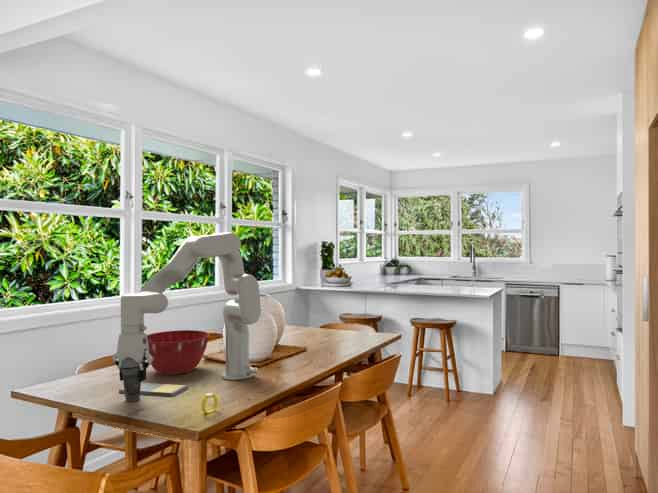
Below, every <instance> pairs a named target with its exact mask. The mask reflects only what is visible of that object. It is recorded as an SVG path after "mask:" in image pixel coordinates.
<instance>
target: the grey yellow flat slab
mask: <svg viewBox="0 0 658 493" xmlns="http://www.w3.org/2000/svg"><path fill="white" fill-rule="evenodd" d="M185 390H188V385H185V384H169V383H167V384H166V383H153V382H152V383H147V382H141V389H140V395H144V396H146V395H147V396H161V397H174V396H176V395H178V394H181V393H182V392H184V391H185ZM118 394H125V391H124V387H122V388H120V389H119V388H118Z"/></svg>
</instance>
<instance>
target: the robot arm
mask: <svg viewBox="0 0 658 493" xmlns="http://www.w3.org/2000/svg"><path fill="white" fill-rule="evenodd" d="M241 246H242V243H241V238H240V236H238V234H237V233H235V232H214V233H211V234H207V235H192V236H189V237H187V238H186V239H185V240H184V241H183V243H182V244H181V245H180V247H178V249H177V251H176V252H175V253H174V254H173V256H172V257H171V258H170V259H169V261H168V262H167V263H166V264H165V265H164V266H163V267H162V268H161V269H159V270H158V271H157V272H156V273H155V274H154V275H152V276H151V278H149V279H148V280H147V281H146V283H145V284H144V285H143V286H142V288H141V289H140V291H138V293H126V294H123V295H121V297H120V333H119V336H118V339H117V348H116V350H117V351H116V352H115V353H114V355H112V356H111V359H112V361H113V362H114V365H115V366H116V367H117V369H118V370H119V381H121V382H123V375H122V372H121V363H122V361H123V359H124V358H127V357H130V358H132V359H133V360H135V362H137V363H138V365H139V368H140V370H139V382H141V383H143V382H144V381H146V380H147V369H148V367H150V366H151V362H152V361H153V360H154V358H153V357H152V356H151V355H150V354H149V345H148V339H147V335H148V334H147V332H145V331H146V330H147V328H148V327H147V326H145V318H144V316H145V314H160V313H162V312H164V311H165V310H166V309H167V308H168V305H169V299H168V298H167V296H166V294H163V293H164V292H165V291H166V290H167V289H168V288H170V287H172V286H173V285H175V284H177V283H179V282H181V281H183V280H185V279H186V278H187V277H188V275H189V274H190V272H192V270H193V268H195V266H196V265H197V263H198V262H199V260H200V259H206V258H207V259H208V258H209V259H210V258H217V257H218V259H219V260H220V262H221V267H222V276H223V277H222V278H223V287H224V291H225V293H226V294H227V295H228V296H231V297H236V299H231V300H228V301H227V302H226V303H225V304H224V306H223V310H222V315H223V316H222V317H223V322H224V330H225V332H224V333H225V372H223V373H221V378H222V379H224V380H230V381H232V380H233V381H237V380H240V381H241V380H247V379H250V378H252V377H254V376H253V375H254V374H257V375H258V373H259V368H258V367H252V363H250V333H249V327H248V325H251V326H252V325H254V324H256V323H257V322H258V321H260V320H259V319H260V318H261V315H262V313H261V312H262V308H261V307H262V306H261V296H260V285H259V282H258V280H257V278H256V277H255V276H254V275H253V274H249V273H245V267H244V261H243V257H242V255H241V253H240V251H239V250H240V248H241Z"/></svg>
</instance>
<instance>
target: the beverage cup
mask: <svg viewBox="0 0 658 493" xmlns="http://www.w3.org/2000/svg"><path fill="white" fill-rule="evenodd" d="M139 370H140V368H139V365H138V363H137V362H135V360H133V359H132V358H130V357H127V358H124V359H123V361H122V363H121V372H122V375H123V380H122V382H123V388H124V391H125V393H124V397H125V402H136V401H139V400H140V399H141V398H140V397H141V394H140V389H141V383H142V382H139Z"/></svg>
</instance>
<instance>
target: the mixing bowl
mask: <svg viewBox="0 0 658 493" xmlns="http://www.w3.org/2000/svg"><path fill="white" fill-rule="evenodd" d="M209 336H210V333H209V332H207V331H203V330H196V329H195V330H190V329H187V330H186V329H185V330H181V329H180V330H169V331H167V330H166V331H160V332H154V333H148V334H147V339H148V345H149V354H150V355H151V356H152V357H153V358H154V360H153V361H152V362H151V364H150V366H152V368H153V370H155V371H156V372H158V373H160V374H161V375H165V376H166V375H167V376H176V375H183V374H184V375H185V374H187V373H190V372H192V371H193V370H194V369H196V368H197V367H198V365H199V364H200V363H201V361H202V358H203V356H204V354H205V352H206V348H207V346H208V345H207V344H208V341H209Z"/></svg>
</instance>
